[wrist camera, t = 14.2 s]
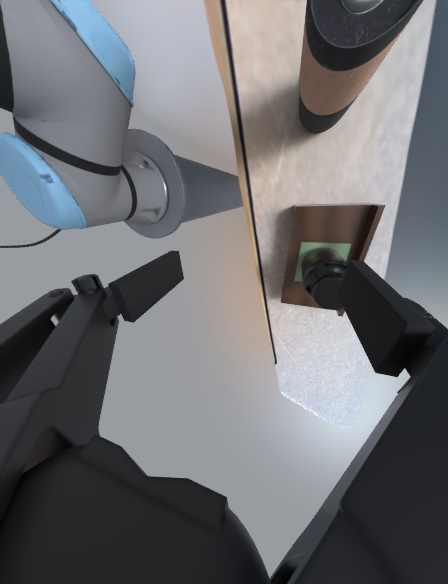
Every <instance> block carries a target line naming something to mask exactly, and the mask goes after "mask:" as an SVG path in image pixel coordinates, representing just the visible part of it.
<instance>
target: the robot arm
mask: <svg viewBox="0 0 448 584" xmlns="http://www.w3.org/2000/svg"><path fill="white" fill-rule="evenodd" d="M134 81H135V65H134V61H133V58H132V55H131V53H130V51H129V49H128V47H127V46H126V44H125V43H124V41H123V40H122V39H121V38H120V36H119V35H118V34H117V33H116V31H115V30H114V29H113V28H112V27H111V26H110V24H109V23H108V22H107V21H106V20H105V19H104V17H103V16H102V15H101V14H100V13H99V12H98V11H97V9H96V8H95V7H94V6H93V5H92V4H91V3H90V1H89V0H0V108H2V109H5V110H7V111H10V112H12V113H13V120H14V126H15V135H13V134H11V133H2V134H0V173H1V175H2V177H3V179H4V181H5V182H6V184H7V185H8V187H9V188H10V190H11V191H12V192H13V194H14V195H15V196H16V198H17V199H18V200H19V201H20V203H21V204H22V205H23V206H24V207H25V208H26V209H27V210H28V211H29V212H30V213H31V214H32V215H34V216H35V217H36V218H37V219H39V220H40V221H41V222H43V223H44V224H46V225H48V226H50V227H53V228H56V229H57V230H56V231H55V232H54V233H53V234H51V235H50V236H48V237H47V238H45V239H43V240H41V241H39V242H36V243H33V244H28V245H19V246H0V248H18V247H29V246H34V245H37V244H40V243H43V242H45V241H47V240H49V239H50V238H52V237H53V236H55V235H56V234H57V233H58V232H60V231H61V230H66V229H77V228H79V229H83V228H88V227H93V226H98V225H104V224H109V223H114V222H120V221H130V222H134V223H138V224H144V225H150V224H154V223H157V222H159V221H161V220H162V219H163V218H164V216H165V215H166V213H167V210H168V207H169V189H168V184H167V181H166V178H165V176H164V174H163V172H162V170H161V169H160V167H159V166H158V164H157V163H156V162H155V161H154V160H153V159H152V158H150V157H149V156H147V155H146V154H143V153H140V152H137V151H124V148H125V142H126V136H127V131H128V125H129V120H130V113H131V108H132V107H133V101H132V99H133V90H134ZM183 279H184V277H183V272H182V266H181V261H180V255H179V251H170V252H168V253H167V254H165V255H162V256H160V257H159V258H157V259H155V260H153V261H151V262H149V263H147V264H146V265H143V266H141V267H140V268H138V269H136V270H134V271H132V272H130V273H128V274H126V275H124V276H123V277H121V278H119V279H117V280H115V281H113V282H111V283H109V284H108V285H109V286H108V287H106V288H103V285H102V283H101V281H100V279H99V277H98V275H96V274H90V275H84V276H81V277H78V278H76V279H74V280H72V281H71V282H72V284H73V285H74V287H75V289H76V291H77V292H78V295H73V294H72V292H71V290H70V289H68V288H62V289H55V290H52V291H50V292H49V293H47V294H45V295H43V296H42V297H40V298H39V299H37V300H36V301H35V302H33V303H31V304H30V305H29V306H27V307H25V308H24V309H22V310H21V311H20V312H18V313H17V314H15V315H14V316H12V317H10V318H9V319H8V320H6V321H5V322H3V323H2V324H0V584H448V329H447V328H446V327H445V326H444V325H442V324H441V323H440V322H439V321H438V320H437V319H435V318H434V317H433V316H432V315H431V314H430V313H427V311H426V310H425V309H424V308H423V307H421V306H420V305H419V304H417V303H415V302H414V301H412V300H409V299H408V298H402V296H401V295H399V294H398V293H397V292H396V291H395V290H394V289H393V288H392V287H391V286H390V285H389V284H387V283H386V282H385V281H384V280H383V279H382V278H381V277H380V276H379V275H378V274H377V273H376V272H374V271H373V270H372V269H371V268H370V267H369V266H368V265H367V264H366V263H365V262H364V261H356V260H349V263H348V266H347V269H346V271H345V274H344V277H343V280H342V283H341V286H340V289H339V292H338V297H339V299H340V301H341V303H342V306H343V308H344V310H345V312H346V314H347V316H348V318H349V320H350V322H351V324H352V326H353V328H354V330H355V332H356V334H357V336H358V338H359V340H360V342H361V344H362V346H363V348H364V350H365V352H366V355H367V357H368V359H369V361H370V363H371V364H372V367H373V369H374V371H375V372H376V373H379V374H384V375H390V376H394V377H398V376H399V374H400V373H401V372H402V371H403V369H404V368H405V369H406V370H407V372H408V373H409V375H410V376H411V377H410V378H409V380H408V381H407V382H406V383H405V384H404V385H403V387H402V388H401V389H400V390H399V391H398V392H397V393H398V395H397V396H396V398H395V399H394V401H393V402H392V404H391V405H390V407H389V408H388V410H387V411H386V413H385V414H384V415H383V417H382V418H381V420H380V421H379V423H378V424H377V426H376V427H375V429H374V430H373V432H372V433H371V435H370V436H369V438H368V439H367V440H366V442H365V443H364V445H363V446H362V448H361V449H360V451H359V452H358V453H357V455H356V456H355V458H354V459H353V461H352V462H351V464H350V465H349V467H348V468H347V470H346V471H345V473H344V474H343V476H342V477H341V478H340V480H339V481H338V483H337V484H336V486H335V487H334V489H333V490H332V492H331V493H330V495H329V496H328V498H327V499H326V500H325V502H324V503H323V505H322V506H321V508H320V509H319V511H318V512H317V514H316V515H315V516H314V518H313V519H312V521H311V522H310V524H309V525H308V526H307V528H306V529H305V530H304V531H303V533H302V534H301V535H300V536H299V538H298V539H297V541H296V542H295V543H294V544H293V546H292V547H291V549H290V550H289V551H288V553H287V555H286V556H285V557H284V559H283V560H282V562H281V563H280V564H279V566H278V568H277V569H276V570H275V572H274V573H273V575H272V576H271V578H270V579H269V576H268V573H267V571H266V568H265V565H264V563H263V561H262V558H261V556H260V554H259V552H258V550H257V548H256V546H255V544H254V542H253V540H252V538H251V536H250V535H249V533H248V531H247V530H246V528H245V527H244V525H243V524H242V523H241V521H240V520H239V519H238V517H237V516H236V515H235V514H234V513H233V512H232V511H231V510H230V509H229V508H228V502H227V497H225V496H223V495H221V494H219V493H217V492H215V491H213V490H211V489H209V488H207V487H205V486H202V485H200V484H198V483H196V482H194V481H192V480H190V479H188V478H169V477H150V476H147V475H146V474H145V473H144V471H143V470H142V469H141V468H140V467H139V466H138V465H137V464H136V462H135V461H134V460H133V459H132V458H131V457H130V456H129V455H128V453H127V452H126V451H125V450H124V449H123V448H122V447H121V446H119V445H117V444H115V443H113V442H111V441H108V440H106V439H104V438H102V437H100V434H99V429H98V426H99V419H100V414H101V409H102V404H103V399H104V394H105V389H106V384H107V379H108V374H109V369H110V364H111V359H112V353H113V349H114V344H115V339H116V334H117V329H118V323H119V320H118V317H117V316H118V315H120V314H122V316H123V319H124V320H125V321H129V322H135V321H136V320H137V319H138V318H139V317H141V316H142V315H143V314H144V313H145V312H146V311H147V310H149V309H150V308H151V307H152V306H153V305H154V304H156V303H157V302H158V301H159V300H160V299H161V298H162V297H164V296H165V295H166V294H167V293H168V292H169V291H170V290H172V289H173V288H174V287H175V286H176V285H177V284H179V283H180V281H182V280H183ZM53 315H54V316H55V317H56V319H57V320H58V322H59V323H58V324H57V326H55V325H54V323H53V322H52V321H51V317H52V316H53Z"/></svg>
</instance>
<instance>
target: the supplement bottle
mask: <svg viewBox="0 0 448 584" xmlns="http://www.w3.org/2000/svg"><path fill="white" fill-rule="evenodd" d="M347 266H348V264H347V263H346V261H345V260H344V259H343V258H342V256H341V255H340V254H339V253H338V252H337V251H336V250H334V249H331V248H327V247H321V248H317V249H314V250H312V251H310V252H309V253H308V254H307V255H306V256H305V257H304V258H303V260H302V263H301V272H302V280H303V286H304V290H305V292H306V293H307V295H308V296H309V297H311V298H312V299H314V301H315V303H316V304H318V306H320V307H323V308H324V309H330V310H333V309H334V310H336V309H340V308H343V306H342V303H341V301H340V299H339V297H338V292H339V289H340V286H341V283H342V280H343V277H344V274H345V271H346V269H347Z"/></svg>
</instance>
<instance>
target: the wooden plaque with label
mask: <svg viewBox="0 0 448 584" xmlns="http://www.w3.org/2000/svg"><path fill="white" fill-rule="evenodd" d="M384 208H385V205H379V204H371V203H349V204H313V205H295V207H294V213H293V224H292V231H291V238H290V244H289V251H288V258H287V264H286V271H285V278H284V284H283V288H282V296H281V303H287V304H294V305H301V306H309V307H316V308H323V307H320V306H318V304H316V303H315V301H314V299H312V298H311V297H309V296H308V295H307V293H306V292H305V290H304V286H303V280H302V272H301V263H302V260H303V258H304V257H305V256H306V255H307V254H308V253H309V252H310V251H312V250H314V249H317V248H321V247H327V248H331V249H334V250H336V251H337V252H338V253H339V254H340V255H341V256H342V258H343V259H344V260H345V261H346V263H347V264H348V263H349V260H356V261H364V259H365V257H366V254H367V252H368V249H369V246H370V244H371V241H372V239H373V236H374V234H375V231H376V228H377V226H378V223H379V221H380V218H381V215H382V213H383V210H384ZM323 309H324V308H323ZM333 310H334V309H333ZM336 311H337V314H338V316H343V314H344V311H345V310H344V308H340V309H336Z"/></svg>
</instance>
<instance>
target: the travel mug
mask: <svg viewBox="0 0 448 584" xmlns="http://www.w3.org/2000/svg"><path fill="white" fill-rule="evenodd" d="M422 1H423V0H307V6H306V16H305V26H304V36H303V47H302V57H301V67H300V77H299V118H300V121H301V124H302V126H303V127H304V128H305V129H306V130H308V131H309V132H313V133H319V132H323V131H325V130H327V129H329V128H331V127H332V126H333V125H335V124H336V123H337V122H338V121H339V120H340V118H341V117H342V116H343V115H344V113H345V112H346V111H347V110H348V108H349V107H350V106H351V104H352V103H353V102H354V101H355V99H356V98H357V97H358V95H359V94H360V93H361V91H362V90H363V89H364V87H365V86H366V84H367V83H368V82H369V80H370V79H371V77H372V76H373V74H374V73H375V71H376V70H377V68H378V67H379V65H380V64H381V62H382V61H383V59H384V58H385V56H386V55H387V53H388V52H389V50H390V49H391V47H392V46H393V44H394V43H395V41H396V40H397V38H398V37H399V36H400V34H401V33H402V31H403V30H404V28H405V27H406V25H407V24H408V22H409V21H410V19H411V18H412V16H413V15H414V13H415V12H416V10H417V9H418V7H419V6H420V4H421V3H422Z"/></svg>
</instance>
